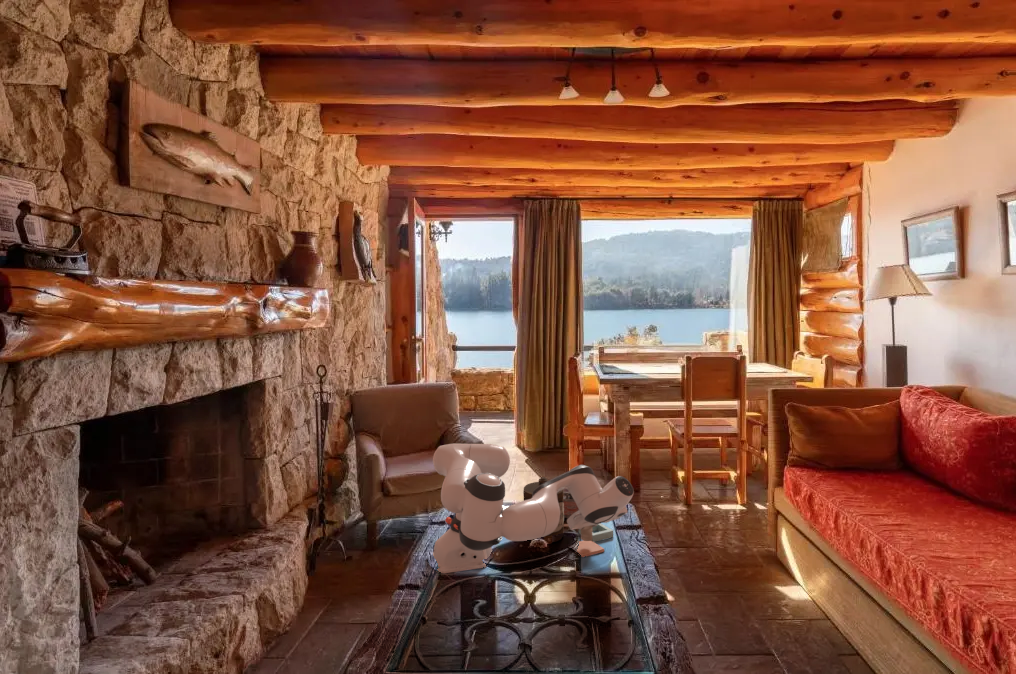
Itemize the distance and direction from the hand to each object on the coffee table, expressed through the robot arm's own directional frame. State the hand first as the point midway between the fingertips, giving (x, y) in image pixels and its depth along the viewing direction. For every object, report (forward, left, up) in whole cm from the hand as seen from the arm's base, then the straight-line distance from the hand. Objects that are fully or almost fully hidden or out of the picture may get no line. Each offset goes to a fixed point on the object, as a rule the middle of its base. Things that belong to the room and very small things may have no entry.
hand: (586, 526), depth 211 cm
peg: (0, 0, -4) cm, 4 cm away
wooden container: (-7, +16, -9) cm, 20 cm away
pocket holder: (+10, +8, -8) cm, 15 cm away
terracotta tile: (0, 0, -8) cm, 8 cm away
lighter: (+12, +27, -8) cm, 31 cm away
